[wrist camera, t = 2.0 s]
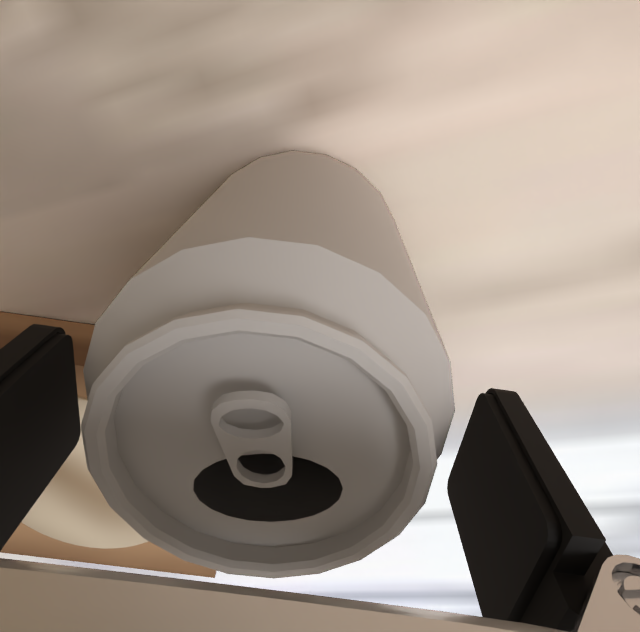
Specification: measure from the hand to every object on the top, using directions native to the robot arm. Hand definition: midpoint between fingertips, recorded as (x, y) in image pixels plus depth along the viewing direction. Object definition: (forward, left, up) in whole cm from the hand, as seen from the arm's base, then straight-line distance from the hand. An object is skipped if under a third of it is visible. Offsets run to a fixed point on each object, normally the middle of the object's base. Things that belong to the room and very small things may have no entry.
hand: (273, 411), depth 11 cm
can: (-1, 0, -9) cm, 9 cm away
